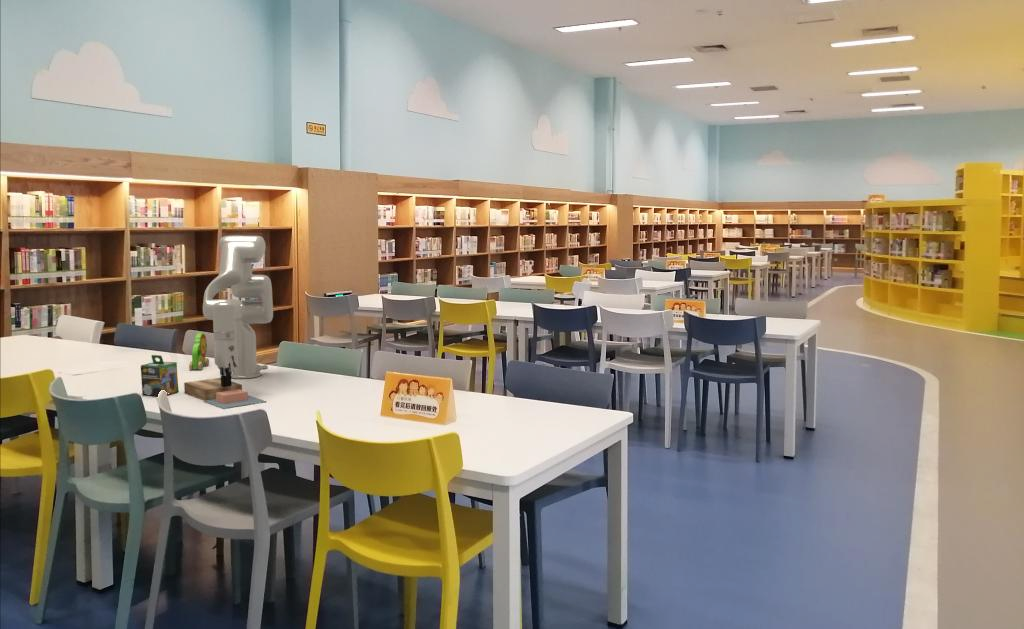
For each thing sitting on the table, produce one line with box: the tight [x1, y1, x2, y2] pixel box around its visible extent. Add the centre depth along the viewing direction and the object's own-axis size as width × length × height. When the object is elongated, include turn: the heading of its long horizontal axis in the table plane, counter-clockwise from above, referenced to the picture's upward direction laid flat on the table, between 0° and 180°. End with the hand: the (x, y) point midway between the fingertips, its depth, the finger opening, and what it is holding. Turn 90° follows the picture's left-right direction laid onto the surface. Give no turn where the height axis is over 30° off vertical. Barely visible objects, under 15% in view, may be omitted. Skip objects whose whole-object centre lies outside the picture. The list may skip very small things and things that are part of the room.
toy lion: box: [188, 332, 210, 371], centre depth 350 cm, size 16×5×15 cm, turn 6°
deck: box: [183, 377, 243, 401], centre depth 296 cm, size 14×18×4 cm
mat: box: [202, 394, 264, 410], centre depth 284 cm, size 16×16×1 cm
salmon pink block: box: [216, 389, 249, 404], centre depth 285 cm, size 9×6×3 cm, turn 134°
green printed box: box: [140, 354, 179, 397], centre depth 296 cm, size 9×9×15 cm
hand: (226, 386), depth 288 cm, fingers closed
